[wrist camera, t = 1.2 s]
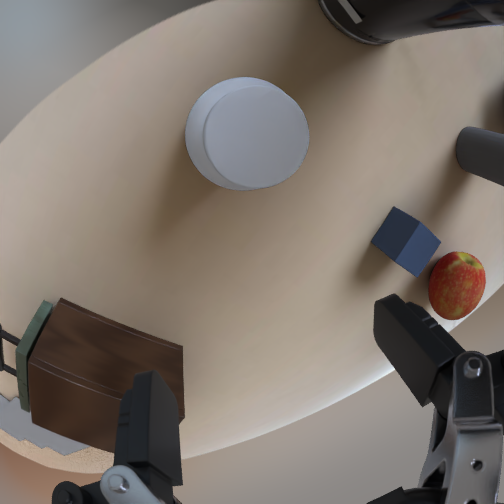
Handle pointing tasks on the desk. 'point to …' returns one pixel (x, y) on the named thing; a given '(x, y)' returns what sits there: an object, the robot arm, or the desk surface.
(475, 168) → the bottle
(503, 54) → the desk surface
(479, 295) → the apple
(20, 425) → the paper stack
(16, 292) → the desk surface
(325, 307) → the desk surface
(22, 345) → the drawer
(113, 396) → the cabinet
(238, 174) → the pill bottle
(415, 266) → the block
